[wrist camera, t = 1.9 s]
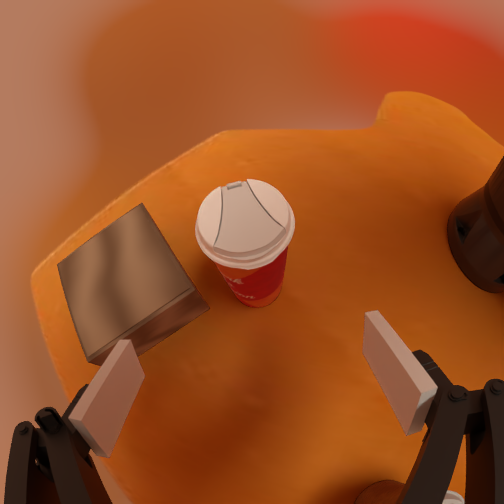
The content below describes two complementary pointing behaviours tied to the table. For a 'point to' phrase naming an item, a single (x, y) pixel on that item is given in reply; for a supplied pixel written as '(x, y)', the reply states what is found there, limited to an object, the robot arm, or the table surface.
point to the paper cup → (247, 238)
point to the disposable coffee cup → (395, 494)
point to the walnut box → (127, 288)
